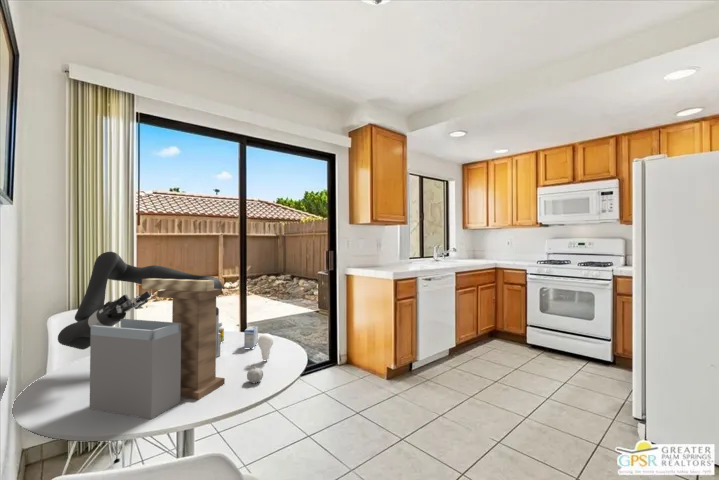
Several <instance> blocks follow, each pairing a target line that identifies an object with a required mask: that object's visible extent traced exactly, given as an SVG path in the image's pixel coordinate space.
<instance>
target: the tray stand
mask: <svg viewBox="0 0 719 480" xmlns="http://www.w3.org/2000/svg"><path fill="white" fill-rule="evenodd" d="M119 324H120V325H119V326H112V327H110V326H98V325H93V326H91V340H90V347H89V348H90V349H89V353H90V354H89V356H90V358H89V409H90V410H94V411H101V412H106V413H112V414H118V415H125V416H130V417H135V418H136V417H138V418H141V419H148V420H153V419H154V418H156V417H158V416H160V415H162V414H163V413H165V412H166V411H168V410H170V409H172V408H173V407H175V406H177V405H179V404H181V397H180V384H181V323H174V322H172V321H171V322H170V321H158V320H157V321H156V320H145V319H143V320H142V319H132V318H124V319H120V323H119Z"/></svg>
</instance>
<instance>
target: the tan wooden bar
mask: <svg viewBox="0 0 719 480" xmlns="http://www.w3.org/2000/svg"><path fill="white" fill-rule="evenodd" d="M141 289H144V290H159V291H161V290H183V291H206V292H208V291H213V290H214V280H185V279H155V278H149V279H142V285H141Z"/></svg>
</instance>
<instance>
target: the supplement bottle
mask: <svg viewBox="0 0 719 480" xmlns="http://www.w3.org/2000/svg"><path fill="white" fill-rule="evenodd" d="M219 333H220V344H222V343H221V342H223V341H224V340H225V327H224V326H223V321H219ZM223 343H224V342H223Z"/></svg>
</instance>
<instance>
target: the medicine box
mask: <svg viewBox="0 0 719 480" xmlns="http://www.w3.org/2000/svg"><path fill="white" fill-rule="evenodd" d="M243 336H244V337H243V338H244V341H243V342H244V345H243V346H244V347H243V349H244V348H253V347H255V345H256V344H257V343H258V339H259V326H257V325H256V326H255V325H252V326H251V325H250V326H247V328H246V329H245V330H244V334H243ZM257 345H258V344H257ZM257 345H256V346H257ZM255 348H256V347H255Z"/></svg>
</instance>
